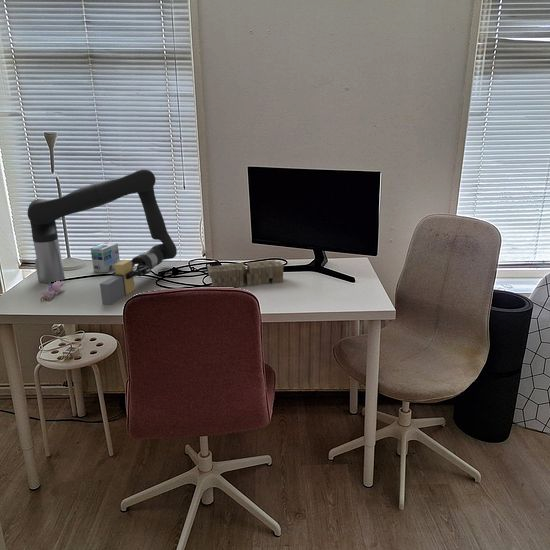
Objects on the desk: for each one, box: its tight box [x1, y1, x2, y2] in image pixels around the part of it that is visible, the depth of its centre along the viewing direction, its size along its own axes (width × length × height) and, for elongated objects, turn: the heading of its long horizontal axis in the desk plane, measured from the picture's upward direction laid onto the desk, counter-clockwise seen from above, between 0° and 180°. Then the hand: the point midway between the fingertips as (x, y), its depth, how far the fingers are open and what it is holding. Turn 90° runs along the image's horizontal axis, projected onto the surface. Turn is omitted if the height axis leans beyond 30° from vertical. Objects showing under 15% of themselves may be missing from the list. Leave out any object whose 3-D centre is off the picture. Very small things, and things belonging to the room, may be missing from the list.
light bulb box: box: [90, 241, 121, 273], centre depth 216 cm, size 11×7×11 cm, turn 160°
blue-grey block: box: [99, 274, 127, 306], centre depth 181 cm, size 10×4×8 cm, turn 163°
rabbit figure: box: [40, 280, 65, 302], centre depth 188 cm, size 6×6×15 cm
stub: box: [114, 259, 136, 296], centre depth 188 cm, size 6×4×12 cm, turn 163°
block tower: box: [206, 259, 284, 288], centre depth 196 cm, size 8×8×29 cm
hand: (120, 276), depth 185 cm, fingers open, 5 cm apart
